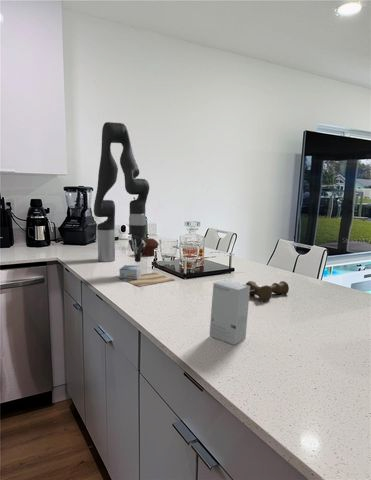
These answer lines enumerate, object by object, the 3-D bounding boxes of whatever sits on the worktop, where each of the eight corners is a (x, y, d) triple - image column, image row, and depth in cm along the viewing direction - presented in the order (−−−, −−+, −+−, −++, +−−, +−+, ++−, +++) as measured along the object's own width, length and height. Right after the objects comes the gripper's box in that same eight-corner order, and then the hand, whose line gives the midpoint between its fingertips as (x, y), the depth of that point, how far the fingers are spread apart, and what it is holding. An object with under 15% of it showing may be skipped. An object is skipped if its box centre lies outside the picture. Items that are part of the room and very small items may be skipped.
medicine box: (141, 265, 151) (137, 269, 142) (141, 275, 151) (137, 279, 143) (124, 265, 151) (119, 269, 143) (124, 274, 152) (119, 279, 143)
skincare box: (209, 336, 88) (210, 282, 86) (221, 329, 93) (223, 278, 91) (236, 346, 83) (238, 289, 81) (248, 338, 88) (250, 284, 85)
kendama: (293, 298, 124) (252, 304, 115) (275, 292, 133) (235, 297, 123) (294, 282, 124) (252, 287, 114) (276, 277, 132) (236, 281, 123)
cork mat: (120, 278, 145) (120, 277, 145) (154, 272, 157) (154, 272, 157) (139, 287, 133) (139, 286, 133) (175, 280, 144) (175, 279, 144)
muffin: (143, 257, 193) (143, 240, 192) (136, 254, 203) (136, 238, 201) (162, 255, 199) (162, 239, 198) (154, 252, 208) (154, 237, 207)
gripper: (122, 222, 151) (123, 260, 153) (137, 225, 141) (137, 265, 143) (137, 222, 155) (137, 258, 158) (152, 224, 145) (152, 263, 148)
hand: (137, 261), depth 150 cm, fingers closed
